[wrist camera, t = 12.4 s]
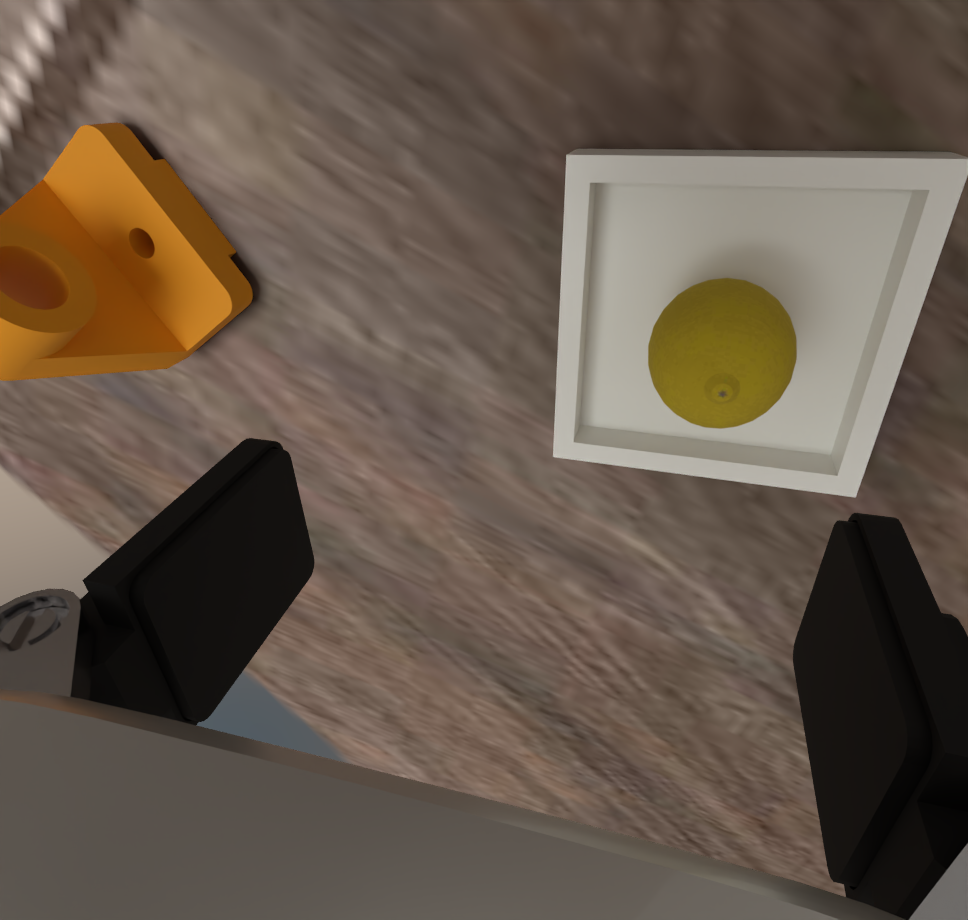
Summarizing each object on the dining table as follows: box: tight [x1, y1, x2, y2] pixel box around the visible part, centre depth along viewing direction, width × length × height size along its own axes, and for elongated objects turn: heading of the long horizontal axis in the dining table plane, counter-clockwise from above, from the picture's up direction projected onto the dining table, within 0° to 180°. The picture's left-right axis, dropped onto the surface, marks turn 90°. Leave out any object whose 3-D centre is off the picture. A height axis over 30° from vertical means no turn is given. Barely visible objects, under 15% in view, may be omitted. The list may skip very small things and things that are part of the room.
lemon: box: [648, 278, 797, 429], centre depth 25 cm, size 6×6×8 cm
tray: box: [553, 149, 968, 497], centre depth 28 cm, size 14×14×2 cm
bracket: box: [0, 123, 253, 381], centre depth 31 cm, size 11×7×12 cm, turn 35°
